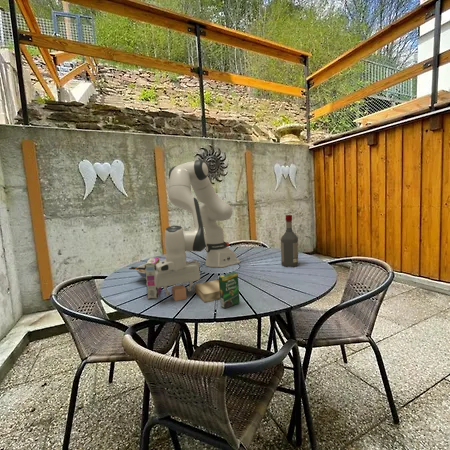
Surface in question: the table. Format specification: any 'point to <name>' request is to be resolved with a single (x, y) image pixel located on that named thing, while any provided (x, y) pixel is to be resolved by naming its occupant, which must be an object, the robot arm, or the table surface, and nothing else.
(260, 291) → the table surface
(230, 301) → the coffee box
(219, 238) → the robot arm
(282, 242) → the liquor
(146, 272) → the candy bar box
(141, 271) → the ramen bowl
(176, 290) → the terracotta cube
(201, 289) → the maple block
